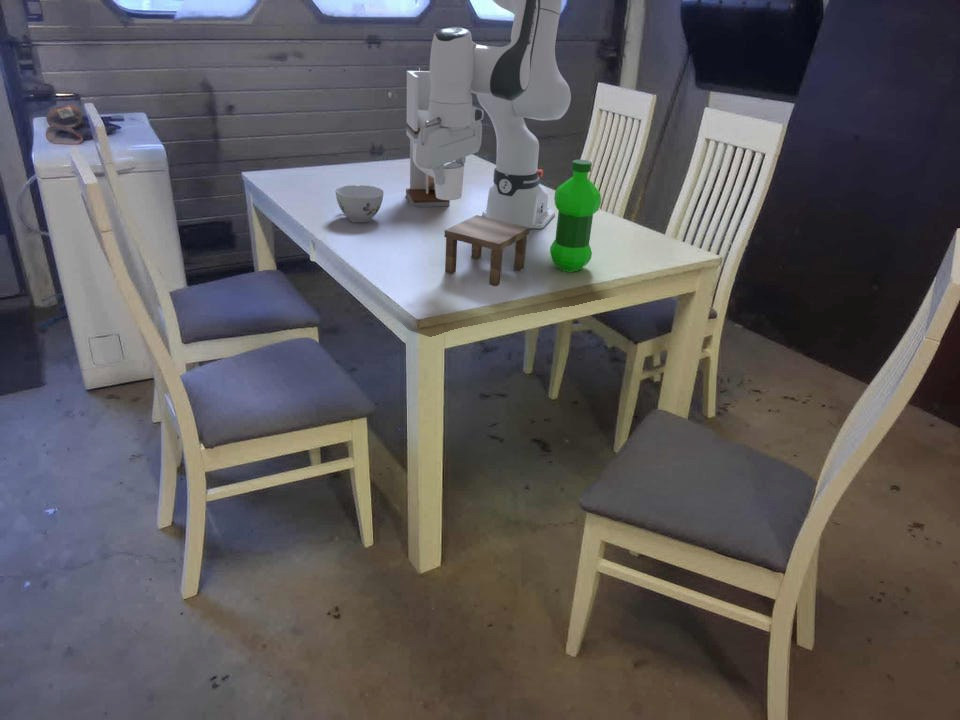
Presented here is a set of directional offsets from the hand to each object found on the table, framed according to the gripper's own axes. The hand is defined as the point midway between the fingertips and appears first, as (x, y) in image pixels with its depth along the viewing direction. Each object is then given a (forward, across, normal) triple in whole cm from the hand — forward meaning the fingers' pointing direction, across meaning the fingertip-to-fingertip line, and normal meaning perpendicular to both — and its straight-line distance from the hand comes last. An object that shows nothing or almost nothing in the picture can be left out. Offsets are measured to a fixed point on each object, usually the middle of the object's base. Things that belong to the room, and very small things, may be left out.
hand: (448, 180), depth 154 cm
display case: (+21, +41, +34) cm, 57 cm away
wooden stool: (+20, +4, -8) cm, 22 cm away
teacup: (+21, +15, +38) cm, 46 cm away
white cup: (+4, 0, 0) cm, 4 cm away
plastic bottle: (+21, +19, -23) cm, 36 cm away
